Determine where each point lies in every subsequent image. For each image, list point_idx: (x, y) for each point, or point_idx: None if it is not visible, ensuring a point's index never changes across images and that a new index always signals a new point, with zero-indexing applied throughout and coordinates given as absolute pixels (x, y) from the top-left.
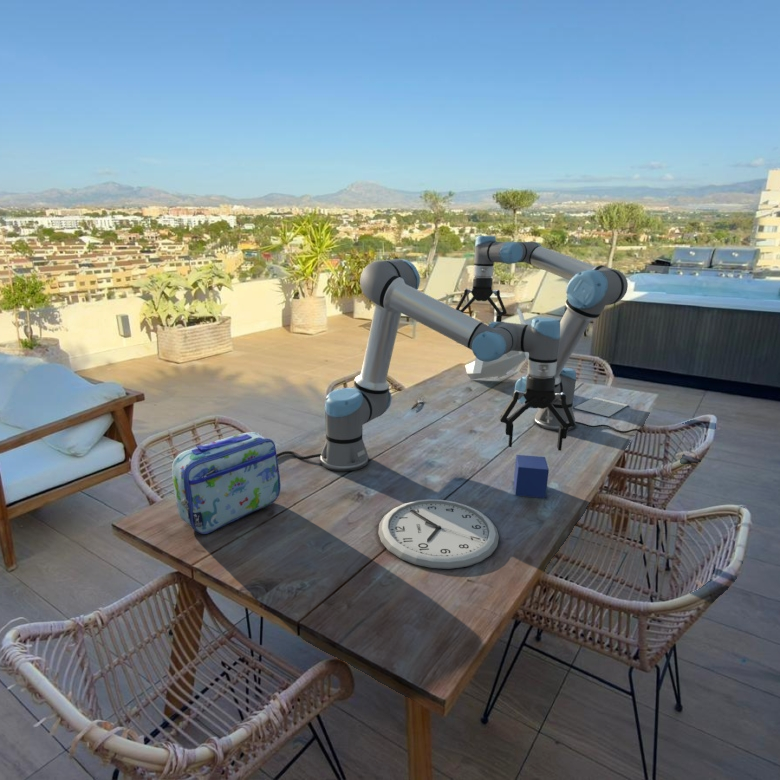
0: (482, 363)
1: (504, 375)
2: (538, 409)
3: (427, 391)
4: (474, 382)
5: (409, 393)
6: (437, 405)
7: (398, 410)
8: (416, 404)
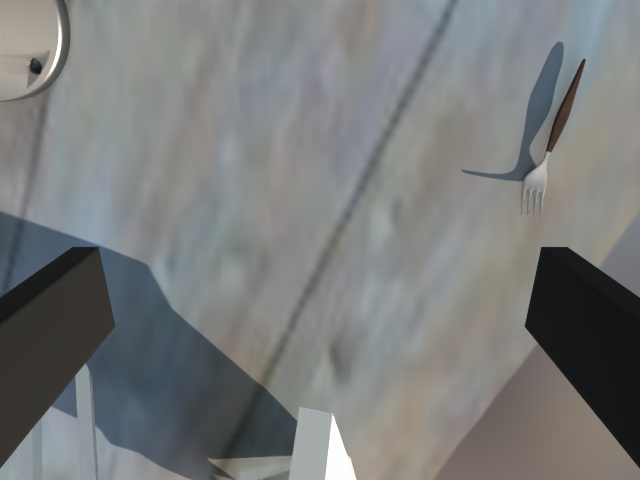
0: (292, 457)
1: None
2: (25, 27)
3: (495, 309)
4: None
5: None
6: (465, 154)
7: (636, 53)
8: (558, 121)
